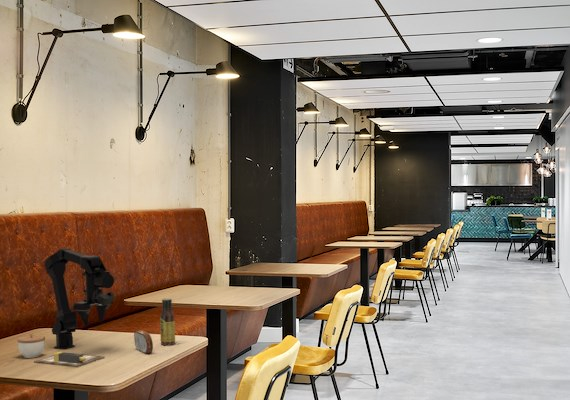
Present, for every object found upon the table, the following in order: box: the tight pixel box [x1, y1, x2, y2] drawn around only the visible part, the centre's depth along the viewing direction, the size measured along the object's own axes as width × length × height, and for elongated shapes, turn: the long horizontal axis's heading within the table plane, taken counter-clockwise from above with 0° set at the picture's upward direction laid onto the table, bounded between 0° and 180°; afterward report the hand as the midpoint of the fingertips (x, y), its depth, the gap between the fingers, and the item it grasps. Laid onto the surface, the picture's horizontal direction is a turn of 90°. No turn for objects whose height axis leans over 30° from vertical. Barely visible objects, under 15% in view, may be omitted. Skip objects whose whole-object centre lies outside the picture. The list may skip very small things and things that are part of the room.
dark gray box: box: [53, 351, 86, 363], centre depth 291 cm, size 14×3×3 cm, turn 64°
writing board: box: [33, 353, 105, 368], centre depth 297 cm, size 22×16×1 cm
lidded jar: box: [17, 333, 46, 359], centre depth 305 cm, size 11×11×9 cm
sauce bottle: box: [159, 297, 176, 346], centre depth 322 cm, size 6×6×20 cm
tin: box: [133, 329, 154, 354], centre depth 309 cm, size 15×3×8 cm, turn 32°
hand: (93, 324), depth 309 cm, fingers open, 9 cm apart
